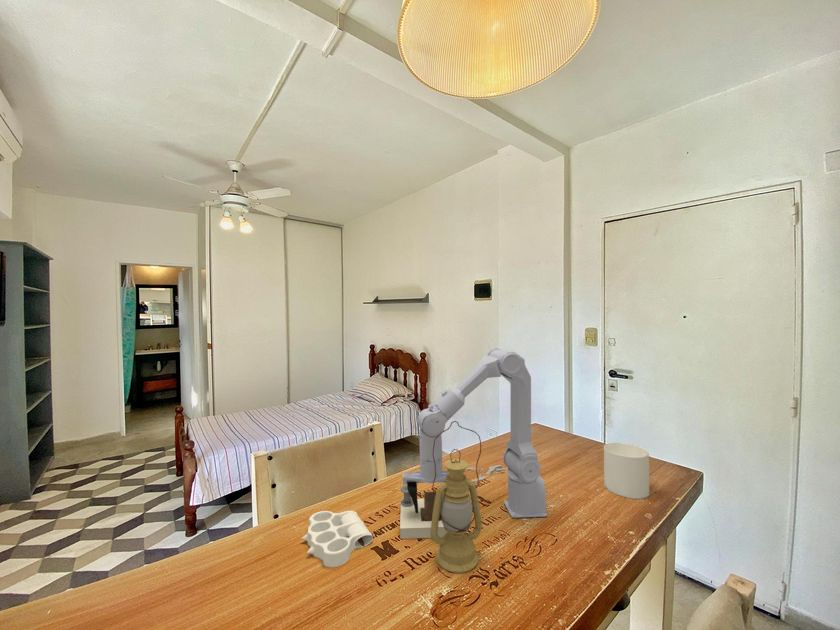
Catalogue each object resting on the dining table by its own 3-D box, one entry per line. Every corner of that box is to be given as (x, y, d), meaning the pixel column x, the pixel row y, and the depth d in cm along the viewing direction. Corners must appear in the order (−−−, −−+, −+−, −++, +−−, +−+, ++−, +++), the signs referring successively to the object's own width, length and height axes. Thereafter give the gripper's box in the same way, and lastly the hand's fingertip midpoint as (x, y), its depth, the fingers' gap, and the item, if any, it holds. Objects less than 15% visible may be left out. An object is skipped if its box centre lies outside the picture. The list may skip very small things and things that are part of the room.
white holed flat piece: (378, 552, 78) (312, 578, 71) (351, 514, 94) (295, 531, 86) (378, 538, 78) (312, 562, 71) (351, 501, 94) (295, 518, 86)
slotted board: (444, 507, 96) (443, 483, 96) (450, 537, 83) (449, 509, 83) (401, 508, 95) (400, 485, 95) (400, 538, 82) (399, 511, 82)
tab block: (438, 518, 90) (437, 491, 90) (439, 527, 86) (439, 499, 86) (424, 518, 90) (424, 492, 90) (425, 528, 86) (424, 500, 86)
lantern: (473, 538, 82) (472, 412, 82) (491, 567, 72) (489, 425, 73) (425, 546, 79) (423, 416, 79) (436, 578, 70) (434, 430, 70)
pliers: (457, 466, 119) (496, 461, 123) (457, 471, 119) (496, 465, 123) (468, 479, 109) (510, 473, 113) (468, 484, 109) (510, 477, 113)
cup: (606, 494, 101) (606, 454, 101) (602, 477, 112) (601, 440, 112) (653, 502, 97) (653, 459, 97) (644, 483, 107) (643, 445, 107)
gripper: (456, 450, 92) (457, 501, 92) (402, 451, 92) (403, 502, 92) (460, 461, 85) (461, 516, 85) (402, 463, 85) (403, 518, 85)
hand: (431, 510), depth 88 cm, fingers open, 7 cm apart
